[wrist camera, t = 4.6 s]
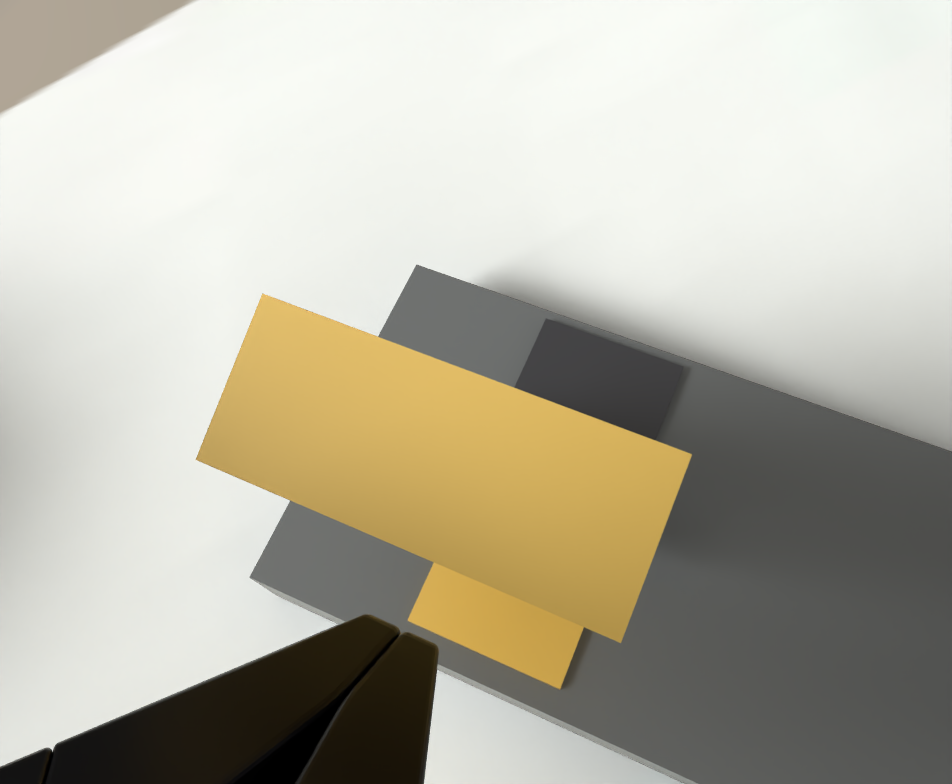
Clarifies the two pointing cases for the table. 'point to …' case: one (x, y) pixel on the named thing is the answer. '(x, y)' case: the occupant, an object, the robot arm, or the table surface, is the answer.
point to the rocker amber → (447, 464)
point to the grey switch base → (688, 569)
